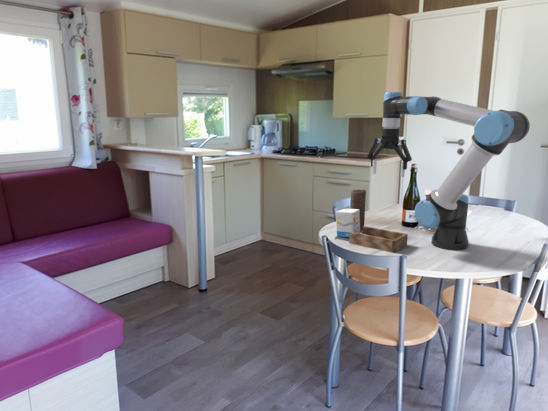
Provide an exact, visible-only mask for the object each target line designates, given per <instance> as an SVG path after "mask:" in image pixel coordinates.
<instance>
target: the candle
mask: <svg viewBox="0 0 548 411" xmlns="http://www.w3.org/2000/svg"><path fill="white" fill-rule="evenodd" d="M366 196H367V190H366V189H352V190H351V191H350V201H349V202H350V206H349V209H359V210H360V231H363V226H365V218H366V198H367V197H366Z"/></svg>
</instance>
